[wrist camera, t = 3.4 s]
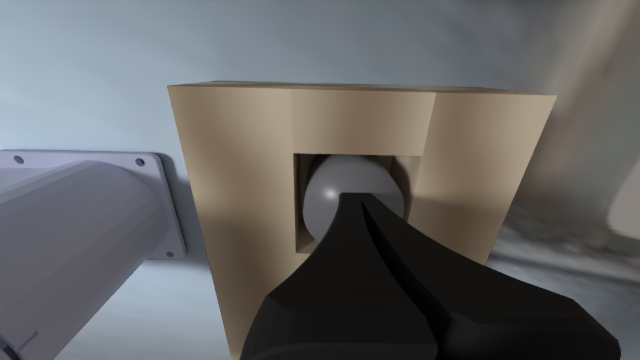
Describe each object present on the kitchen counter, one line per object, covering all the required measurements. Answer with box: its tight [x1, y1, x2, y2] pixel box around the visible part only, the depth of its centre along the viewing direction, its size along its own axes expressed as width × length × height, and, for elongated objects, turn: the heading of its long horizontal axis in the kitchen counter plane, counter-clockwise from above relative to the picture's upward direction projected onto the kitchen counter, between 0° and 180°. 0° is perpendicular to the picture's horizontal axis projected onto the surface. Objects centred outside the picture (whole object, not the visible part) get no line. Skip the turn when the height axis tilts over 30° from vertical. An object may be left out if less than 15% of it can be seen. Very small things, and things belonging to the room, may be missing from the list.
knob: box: [303, 154, 404, 243], centre depth 12 cm, size 4×4×4 cm
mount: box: [167, 81, 557, 360], centre depth 16 cm, size 14×28×4 cm, turn 179°
